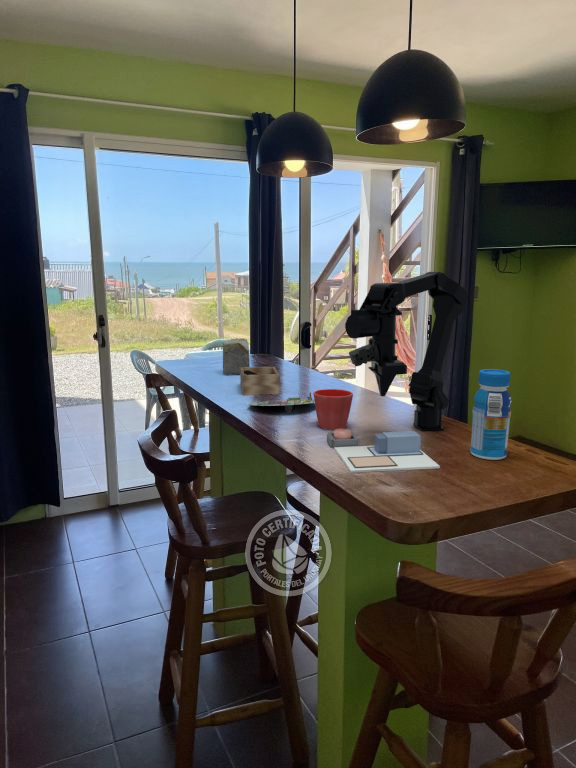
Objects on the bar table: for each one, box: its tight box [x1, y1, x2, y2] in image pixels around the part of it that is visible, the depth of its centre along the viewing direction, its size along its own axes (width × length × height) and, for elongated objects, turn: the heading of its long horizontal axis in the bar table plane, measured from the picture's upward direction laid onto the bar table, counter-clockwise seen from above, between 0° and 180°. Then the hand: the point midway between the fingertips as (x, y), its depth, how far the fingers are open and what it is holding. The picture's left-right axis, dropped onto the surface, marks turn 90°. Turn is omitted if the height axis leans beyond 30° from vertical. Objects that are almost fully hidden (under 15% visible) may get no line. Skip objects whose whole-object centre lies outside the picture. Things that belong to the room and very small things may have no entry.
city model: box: [248, 392, 315, 412], centre depth 173 cm, size 25×23×6 cm
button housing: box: [326, 431, 360, 449], centre depth 135 cm, size 7×7×2 cm
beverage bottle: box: [469, 368, 513, 461], centre depth 125 cm, size 8×8×20 cm
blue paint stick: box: [373, 430, 422, 454], centre depth 128 cm, size 10×4×4 cm, turn 98°
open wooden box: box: [239, 366, 281, 396], centre depth 198 cm, size 13×17×7 cm
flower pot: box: [313, 388, 354, 431], centre depth 150 cm, size 11×11×10 cm
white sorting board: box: [333, 445, 441, 474], centre depth 125 cm, size 20×16×1 cm
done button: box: [333, 428, 353, 439], centre depth 135 cm, size 4×4×3 cm
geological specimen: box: [222, 337, 251, 376], centre depth 228 cm, size 11×6×15 cm, turn 105°
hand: (382, 395), depth 137 cm, fingers closed
